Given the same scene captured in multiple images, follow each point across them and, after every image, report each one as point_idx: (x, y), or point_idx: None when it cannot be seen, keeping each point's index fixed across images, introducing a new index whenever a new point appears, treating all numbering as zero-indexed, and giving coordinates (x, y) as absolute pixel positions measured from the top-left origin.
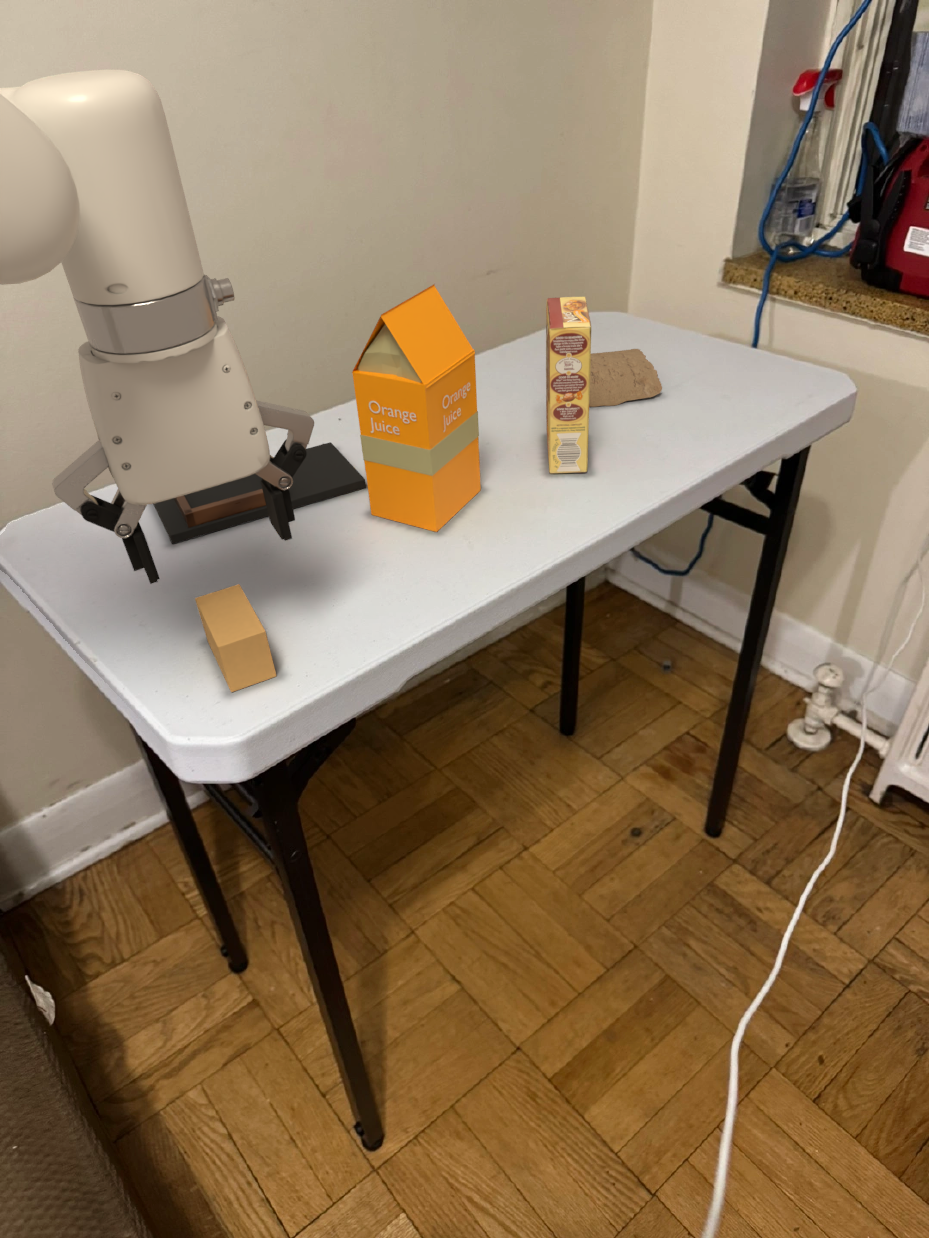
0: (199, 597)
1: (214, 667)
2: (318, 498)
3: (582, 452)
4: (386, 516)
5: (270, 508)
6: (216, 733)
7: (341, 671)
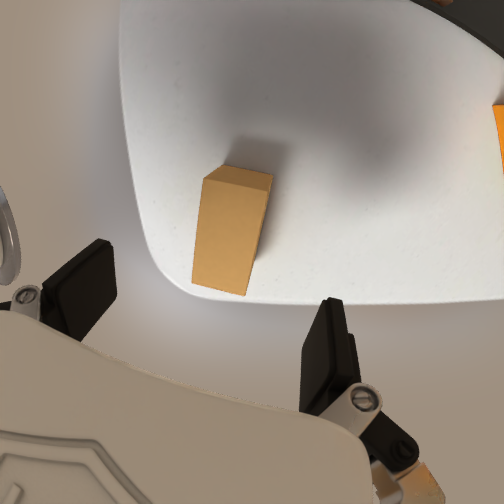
0: (209, 181)
1: None
2: (468, 30)
3: None
4: (498, 127)
5: (313, 356)
6: (181, 282)
7: (303, 295)
